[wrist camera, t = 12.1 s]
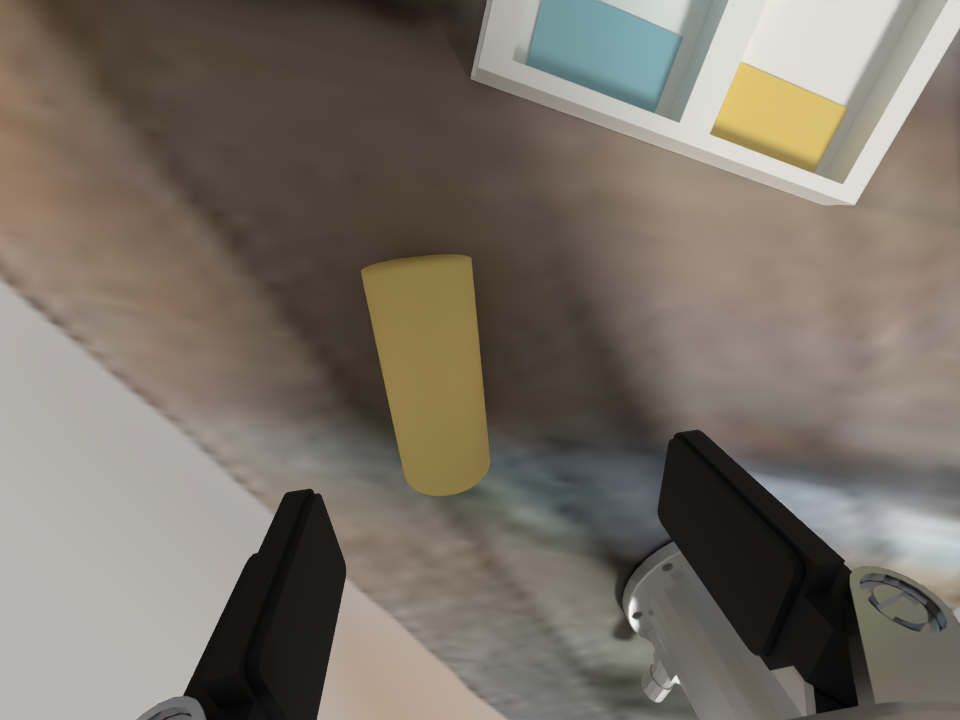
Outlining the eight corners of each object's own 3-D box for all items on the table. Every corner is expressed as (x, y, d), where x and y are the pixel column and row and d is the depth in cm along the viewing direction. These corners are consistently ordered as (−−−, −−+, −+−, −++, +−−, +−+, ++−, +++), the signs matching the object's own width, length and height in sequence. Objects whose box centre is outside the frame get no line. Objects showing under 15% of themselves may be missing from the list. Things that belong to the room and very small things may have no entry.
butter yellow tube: (508, 465, 21) (431, 511, 18) (458, 428, 24) (389, 462, 22) (493, 259, 16) (389, 282, 14) (435, 251, 20) (344, 268, 17)
